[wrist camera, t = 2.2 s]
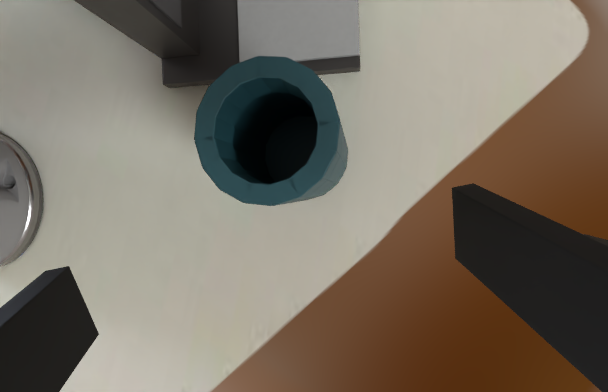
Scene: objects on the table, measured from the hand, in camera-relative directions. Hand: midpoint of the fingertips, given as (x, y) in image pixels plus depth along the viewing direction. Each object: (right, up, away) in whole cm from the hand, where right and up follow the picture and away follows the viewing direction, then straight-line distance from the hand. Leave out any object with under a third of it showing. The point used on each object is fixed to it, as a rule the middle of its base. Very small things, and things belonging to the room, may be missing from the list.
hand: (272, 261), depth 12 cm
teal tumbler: (+1, +6, +21) cm, 22 cm away
